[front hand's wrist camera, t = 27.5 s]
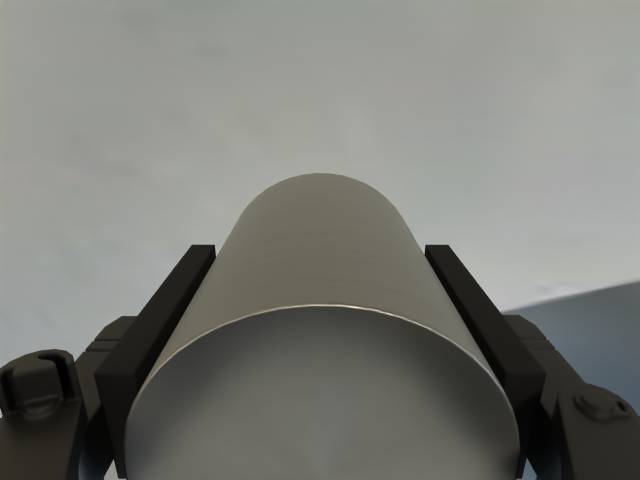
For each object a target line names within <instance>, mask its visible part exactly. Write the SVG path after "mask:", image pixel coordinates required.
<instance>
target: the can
mask: <svg viewBox="0 0 640 480" xmlns="http://www.w3.org/2000/svg"><path fill="white" fill-rule="evenodd" d="M519 461H520V440H519V430H518V425H517V422H516V418H515V415H514V411H513V408H512V406H511V404H510V402H509V400H508V398H507V396H506V394H505V392H504V390H503V388H502V386H501V385H500V383H499V381H498V380H497V378H496V376H495V374H494V373H493V371H492V369H491V368H490V366H489V364H488V362H487V361H486V359H485V357H484V356H483V354H482V352H481V351H480V349H479V347H478V345H477V344H476V342H475V340H474V339H473V337H472V335H471V334H470V332H469V330H468V328H467V327H466V325H465V323H464V322H463V320H462V318H461V317H460V315H459V313H458V311H457V310H456V308H455V306H454V305H453V303H452V301H451V299H450V298H449V296H448V294H447V293H446V291H445V289H444V288H443V286H442V284H441V282H440V281H439V279H438V277H437V276H436V274H435V272H434V271H433V269H432V267H431V265H430V264H429V262H428V260H427V259H426V257H425V255H424V254H423V252H422V250H421V248H420V247H419V245H418V243H417V242H416V240H415V238H414V237H413V235H412V233H411V231H410V230H409V228H408V226H407V225H406V223H405V221H404V219H403V218H402V216H401V215H400V213H399V212H398V211H397V209H396V208H395V207H394V206H393V204H392V203H391V202H390V201H389V200H388V199H387V198H386V197H384V196H383V195H382V194H381V193H380V192H378V191H377V190H375V189H374V188H372V187H370V186H369V185H367V184H365V183H363V182H360V181H358V180H356V179H353V178H349V177H346V176H342V175H336V174H328V173H314V174H305V175H300V176H296V177H292V178H289V179H286V180H284V181H281V182H279V183H277V184H275V185H273V186H271V187H269V188H268V189H266V190H265V191H264V192H262V193H261V194H260V195H258V196H257V197H256V198H255V199H254V200H253V201H252V202H251V203H250V204H249V205H248V206H247V207H246V209H245V210H244V211H243V213H242V214H241V216H240V217H239V219H238V221H237V223H236V224H235V226H234V228H233V230H232V231H231V233H230V235H229V236H228V238H227V240H226V242H225V243H224V245H223V247H222V249H221V250H220V252H219V254H218V255H217V257H216V259H215V261H214V262H213V264H212V266H211V268H210V269H209V271H208V273H207V275H206V276H205V278H204V280H203V281H202V283H201V285H200V287H199V288H198V290H197V292H196V294H195V295H194V297H193V299H192V301H191V302H190V304H189V306H188V307H187V309H186V311H185V313H184V314H183V316H182V318H181V320H180V321H179V323H178V325H177V326H176V328H175V330H174V332H173V333H172V335H171V337H170V339H169V340H168V342H167V344H166V346H165V347H164V349H163V351H162V352H161V354H160V356H159V358H158V359H157V361H156V363H155V365H154V366H153V368H152V370H151V372H150V373H149V375H148V377H147V378H146V380H145V382H144V384H143V385H142V387H141V389H140V391H139V393H138V394H137V396H136V398H135V400H134V402H133V404H132V407H131V410H130V412H129V415H128V418H127V421H126V426H125V432H124V438H123V465H124V470H125V475H126V480H516V479H517V475H518V471H519Z"/></svg>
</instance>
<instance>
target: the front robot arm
mask: <svg viewBox="0 0 640 480" xmlns="http://www.w3.org/2000/svg"><path fill="white" fill-rule="evenodd" d="M425 257H426V259H427V260H428V262H429V264H430V265H431V267H432V269H433V271H434V272H435V274H436V276H437V277H438V279H439V281H440V282H441V284H442V286H443V288H444V289H445V291H446V293H447V294H448V296H449V298H450V299H451V301H452V303H453V305H454V306H455V308H456V310H457V311H458V313H459V315H460V317H461V318H462V320H463V322H464V323H465V325H466V327H467V328H468V330H469V332H470V334H471V335H472V337H473V339H474V340H475V342H476V344H477V345H478V347H479V349H480V351H481V352H482V354H483V356H484V357H485V359H486V361H487V362H488V364H489V366H490V368H491V369H492V371H493V373H494V374H495V376H496V378H497V380H498V381H499V383H500V385H501V386H502V388H503V390H504V392H505V394H506V396H507V398H508V400H509V402H510V404H511V406H512V408H513V411H514V415H515V418H516V422H517V425H518V430H519V440H520V461H519V471H518V475H517V479H522V476H523V472H524V467H525V463H526V459H528V460H529V462H530V464H531V466H532V468H533V470H534V471H535V473H536V475H537V477H536V480H640V416H638V415H637V414H636V412H635V411H634V409H633V408H632V407H631V405H630V404H628V403H627V402H626V401H625V400H623V399H622V398H621V397H619V396H618V395H616V394H614V393H612V392H610V391H608V390H606V389H604V388H601V387H598V386H595V385H592V384H586V383H585V382H584V381H583V379H582V378H581V377H580V376H579V375H578V374H577V373H576V371H575V370H574V369H573V368H572V367H571V366H570V365H569V363H568V362H567V361H566V360H565V359H564V358H563V356H562V355H561V354H560V353H559V352H558V351H557V350H555V347H554V346H553V345H552V344H551V343H550V342H549V340H546V337H545V336H544V335H543V333H542V332H541V331H540V330H539V329H538V328H537V327H536V325H534V324H532V323H531V322H529V321H528V320H526V319H524V318H523V317H521V316H520V315H502V314H501V313H500V312H499V310H498V309H497V308H496V306H495V305H494V304H493V303H492V301H491V300H490V299H489V297H488V296H487V295H486V293H485V292H484V291H483V290H482V288H481V287H480V286H479V284H478V283H477V282H476V280H475V279H474V278H473V276H472V275H471V274H470V273H469V271H468V270H467V269H466V267H465V266H464V265H463V263H462V262H461V261H460V260H459V258H458V257H457V256H456V254H455V253H454V252H453V250H452V249H451V248H450V246H449V245H426V246H425ZM215 259H216V253H215V245H192V246H191V247H190V248H189V249H188V251H187V252H186V253H185V255H184V256H183V257H182V259H181V260H180V261H179V262H178V264H177V265H176V266H175V268H174V269H173V270H172V272H171V273H170V274H169V276H168V277H167V278H166V279H165V281H164V282H163V283H162V285H161V286H160V287H159V289H158V290H157V291H156V293H155V294H154V295H153V296H152V298H151V299H150V300H149V302H148V303H147V304H146V306H145V307H144V308H143V309H142V311H141V312H140V313H139V315H138V316H121V317H120V318H118V319H117V320H115V321H113V322H112V323H110V324H109V325H107V326H105V327H104V329H103V330H102V331H101V332H100V333H99V334H98V336H97V337H96V338H95V341H92V343H91V344H90V345H89V346H88V347H87V348H86V352H83V353H82V354H81V355H80V356H79V358H78V359H77V360H76V361H75V362H74V359H73V355H71V354H70V353H68V352H67V351H64V350H57V349H51V350H41V351H37V352H33V353H30V354H26V355H24V356H21V357H19V358H17V359H15V360H13V361H10V362H9V363H7V364H6V365H5V366H3V367H2V368H0V409H1V412H2V415H3V416H2V418H0V480H104V476H105V474H106V472H107V470H108V468H109V467H110V465H111V463H112V461H113V459H114V462H115V466H116V471H117V475H118V478H119V479H126V475H125V470H124V465H123V438H124V432H125V426H126V421H127V418H128V415H129V412H130V410H131V407H132V404H133V402H134V400H135V398H136V396H137V394H138V393H139V391H140V389H141V387H142V385H143V384H144V382H145V380H146V378H147V377H148V375H149V373H150V372H151V370H152V368H153V366H154V365H155V363H156V361H157V359H158V358H159V356H160V354H161V352H162V351H163V349H164V347H165V346H166V344H167V342H168V340H169V339H170V337H171V335H172V333H173V332H174V330H175V328H176V326H177V325H178V323H179V321H180V320H181V318H182V316H183V314H184V313H185V311H186V309H187V307H188V306H189V304H190V302H191V301H192V299H193V297H194V295H195V294H196V292H197V290H198V288H199V287H200V285H201V283H202V281H203V280H204V278H205V276H206V275H207V273H208V271H209V269H210V268H211V266H212V264H213V262H214V261H215Z"/></svg>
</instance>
